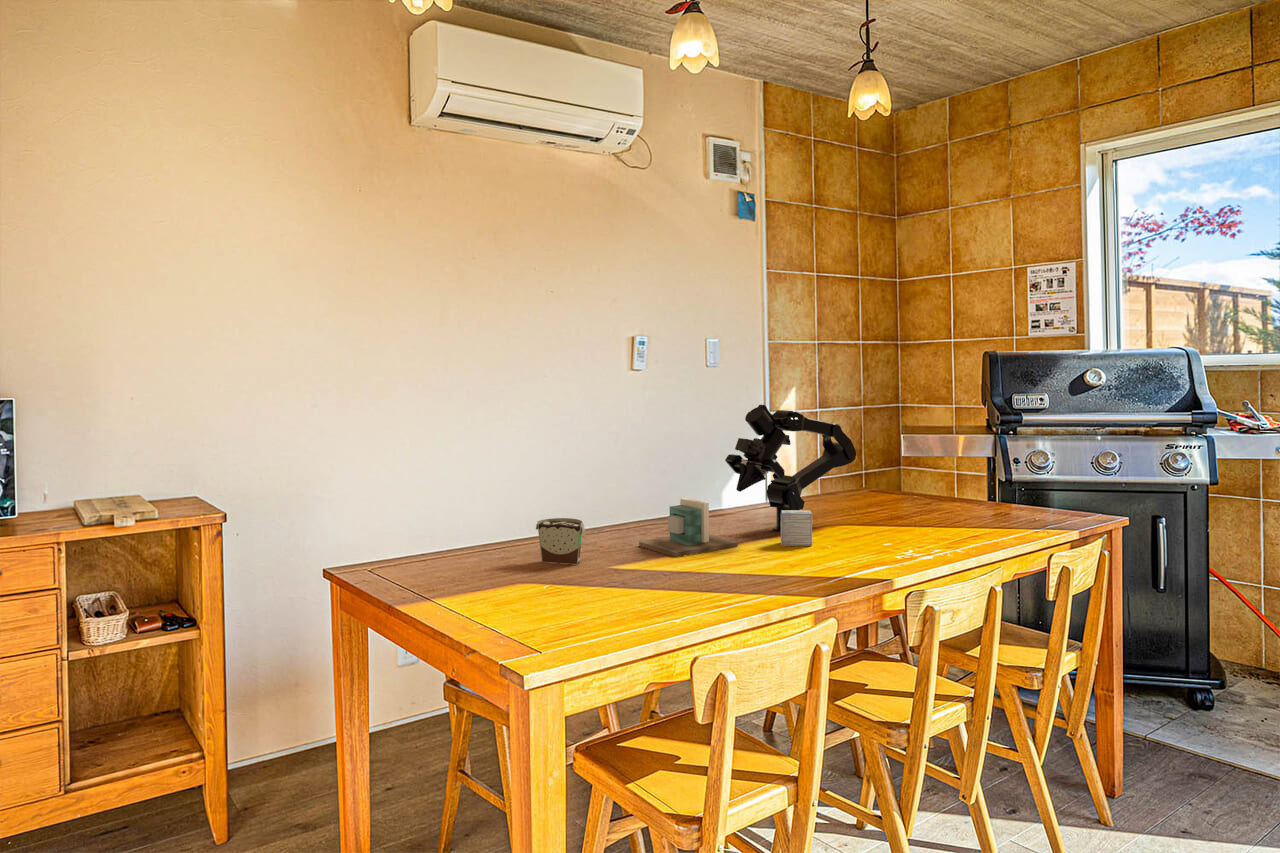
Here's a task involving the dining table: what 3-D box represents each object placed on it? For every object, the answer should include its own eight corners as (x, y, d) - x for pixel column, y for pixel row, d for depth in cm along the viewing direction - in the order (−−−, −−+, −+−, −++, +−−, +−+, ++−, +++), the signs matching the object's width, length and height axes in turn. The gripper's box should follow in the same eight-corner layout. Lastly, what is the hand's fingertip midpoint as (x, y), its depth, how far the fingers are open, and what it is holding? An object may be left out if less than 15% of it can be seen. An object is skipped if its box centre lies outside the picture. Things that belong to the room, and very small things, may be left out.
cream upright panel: (684, 535, 226) (684, 498, 225) (708, 541, 218) (708, 502, 217) (661, 539, 222) (660, 501, 221) (684, 545, 214) (684, 506, 213)
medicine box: (810, 542, 224) (810, 510, 223) (812, 546, 219) (812, 513, 219) (780, 542, 224) (780, 509, 224) (781, 546, 220) (781, 512, 219)
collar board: (699, 536, 233) (699, 499, 232) (738, 546, 220) (738, 507, 219) (639, 546, 222) (638, 507, 221) (676, 557, 209) (675, 516, 208)
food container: (593, 559, 207) (592, 519, 206) (583, 565, 201) (582, 523, 200) (547, 556, 211) (546, 516, 210) (536, 562, 205) (535, 521, 205)
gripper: (729, 425, 239) (699, 468, 233) (776, 429, 223) (745, 475, 218) (751, 451, 244) (722, 493, 238) (798, 456, 228) (768, 502, 223)
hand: (738, 490), depth 229 cm, fingers closed
